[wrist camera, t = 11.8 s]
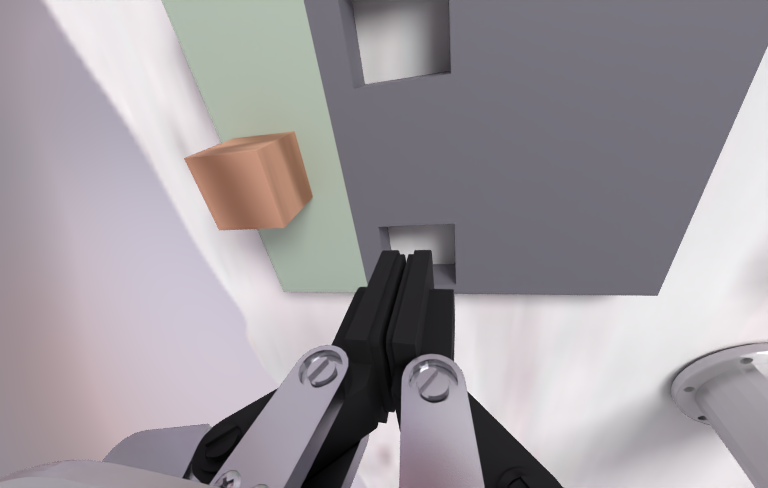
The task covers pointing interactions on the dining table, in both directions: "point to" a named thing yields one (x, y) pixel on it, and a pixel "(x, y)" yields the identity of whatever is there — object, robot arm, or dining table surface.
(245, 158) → the terracotta block
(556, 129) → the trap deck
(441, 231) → the dining table surface
